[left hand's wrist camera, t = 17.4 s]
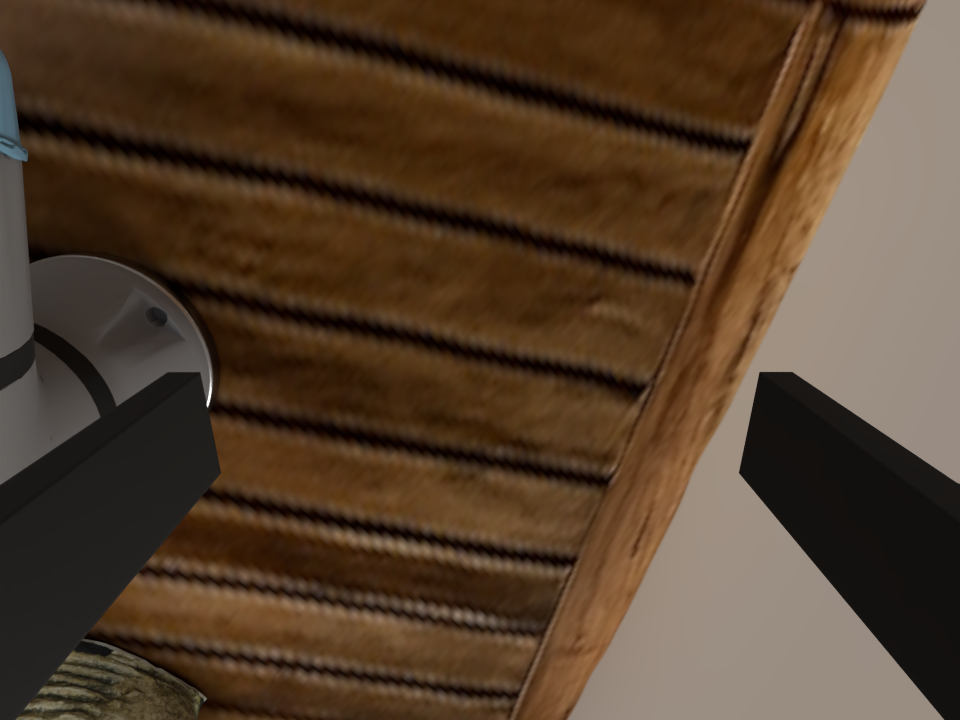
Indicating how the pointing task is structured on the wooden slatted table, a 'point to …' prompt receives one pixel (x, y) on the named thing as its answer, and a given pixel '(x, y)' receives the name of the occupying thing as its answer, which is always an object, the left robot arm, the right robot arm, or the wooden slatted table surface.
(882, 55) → the wooden slatted table surface
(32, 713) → the fossil
